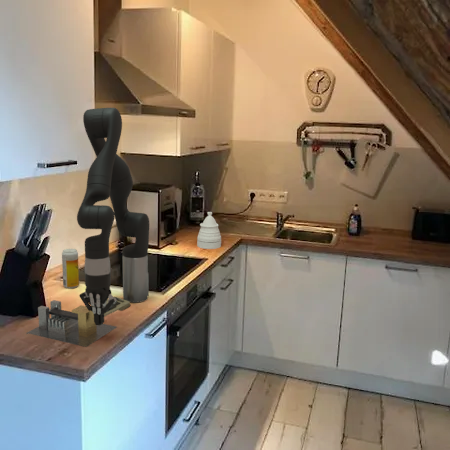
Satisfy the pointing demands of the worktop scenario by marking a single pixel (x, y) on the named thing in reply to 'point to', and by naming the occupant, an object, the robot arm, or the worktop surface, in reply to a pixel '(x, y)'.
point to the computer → (118, 306)
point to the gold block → (85, 321)
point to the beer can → (70, 268)
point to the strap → (63, 313)
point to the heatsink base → (65, 327)
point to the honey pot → (209, 234)
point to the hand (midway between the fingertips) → (99, 324)
